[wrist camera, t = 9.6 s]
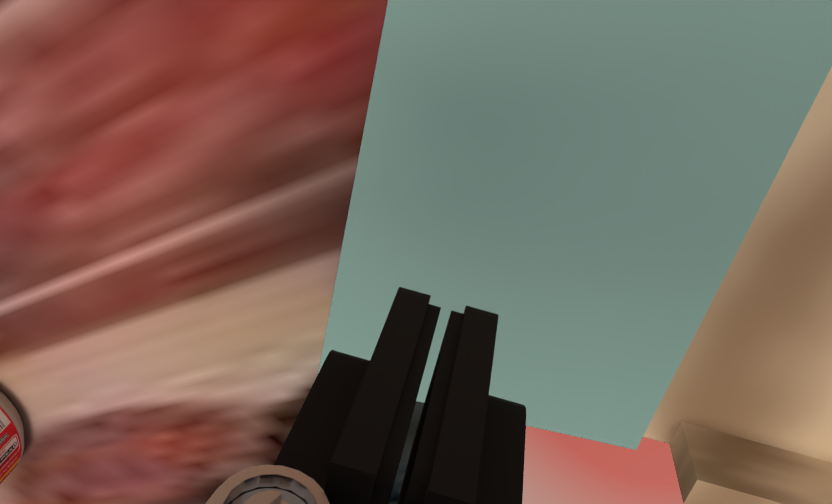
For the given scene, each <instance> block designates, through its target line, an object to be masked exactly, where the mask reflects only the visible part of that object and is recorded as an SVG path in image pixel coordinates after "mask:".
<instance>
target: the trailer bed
mask: <svg viewBox="0 0 832 504" xmlns="http://www.w3.org/2000/svg"><path fill="white" fill-rule="evenodd" d="M643 437H647V438H650V439H654V440H657V441H661V442H664V443H668V444H670V448H671V452H672V456H673V461H674V465H675V469H676V474H677V478H678V482H679V486H680V490H681V495H682V499H683V503H684V504H832V67H831V69H830V71H829V73H828V75H827V77H826V79H825V81H824V83H823V85H822V87H821V89H820V91H819V93H818V95H817V96H816V98H815V100H814V102H813V104H812V106H811V108H810V110H809V112H808V114H807V116H806V118H805V120H804V122H803V124H802V126H801V128H800V130H799V132H798V134H797V136H796V138H795V140H794V142H793V144H792V145H791V147H790V149H789V151H788V153H787V155H786V157H785V159H784V161H783V163H782V165H781V167H780V169H779V171H778V173H777V175H776V177H775V179H774V181H773V183H772V185H771V187H770V189H769V191H768V193H767V194H766V196H765V198H764V200H763V202H762V204H761V206H760V208H759V210H758V212H757V214H756V216H755V218H754V220H753V222H752V224H751V226H750V228H749V230H748V232H747V234H746V236H745V238H744V240H743V242H742V243H741V245H740V247H739V249H738V251H737V253H736V255H735V257H734V259H733V261H732V263H731V265H730V267H729V269H728V271H727V273H726V275H725V277H724V279H723V281H722V283H721V285H720V287H719V289H718V291H717V292H716V294H715V296H714V298H713V300H712V302H711V304H710V306H709V308H708V310H707V312H706V314H705V316H704V318H703V320H702V322H701V324H700V326H699V328H698V330H697V332H696V334H695V336H694V338H693V340H692V341H691V343H690V345H689V347H688V349H687V351H686V353H685V355H684V357H683V359H682V361H681V363H680V365H679V367H678V369H677V371H676V373H675V375H674V377H673V379H672V381H671V383H670V385H669V387H668V389H667V390H666V392H665V394H664V396H663V398H662V400H661V402H660V404H659V406H658V408H657V410H656V412H655V414H654V416H653V418H652V420H651V422H650V424H649V426H648V428H647V430H646V432H645V434H644V436H643Z"/></svg>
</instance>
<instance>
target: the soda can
mask: <svg viewBox="0 0 832 504" xmlns="http://www.w3.org/2000/svg"><path fill="white" fill-rule="evenodd" d="M23 451H24V429H23V424H22V420H21V418H20V415H19V413H18V412H17V410H16V408H15V407H14V405H13V404H12V403H11V402H10V400H9V399H8V398H7V397H6V396H5V395H4V394H3V393H2V392H1V391H0V484H1V483H2V481H3V480H4V479H5V478H6V477H7V476H8V475H9V474H10V472H11V471H12V470H13V469H14V468H15V467H16V465H17V464H18V463H19V461H20V459H21V457H22V455H23Z"/></svg>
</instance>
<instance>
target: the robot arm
mask: <svg viewBox="0 0 832 504" xmlns="http://www.w3.org/2000/svg"><path fill="white" fill-rule="evenodd" d="M430 297H431V295H428V294H424V293H420V292H417V291H413V290H410V289H406V288H403V287H399V288H398V291H397V293H396V296H395V298H394V301H393V303H392V306H391V309H390V311H389V314H388V316H387V319H386V321H385V324H384V326H383V329H382V332H381V334H380V337H379V339H378V342H377V344H376V347H375V349H374V352H373V355H372V357H371V360H370V361H369V360H366V359H362V358H359V357H355V356H352V355H348V354H345V353H342V352H338V351H335V350H331V351H330V352H329V354H328V356H327V357H326V359H325V361H324V363H323V365H322V367H321V369H320V372H319V374H318V376H317V378H316V380H315V382H314V384H313V386H312V388H311V390H310V392H309V394H308V396H307V398H306V400H305V402H304V404H303V406H302V408H301V410H300V412H299V414H298V416H297V419H296V421H295V423H294V425H293V427H292V429H291V431H290V433H289V435H288V437H287V439H286V441H285V443H284V445H283V447H282V449H281V451H280V453H279V455H278V457H277V459H276V461H275V464H274V465H261V466H256V467H251V468H247V469H244V470H242V471H240V472H238V473H236V474H234V475H232V476H230V477H229V478H228V479H227V480H226V481H225V482H224V483H223V484H222V485H221V486H220V487H218V489H217V490H216V491H215V492H214V494H213V495H212V496H211V497H210V499H209V500H208V501H207V502H206V504H388V502H389V499H390V495H391V492H392V488H393V485H394V481H395V477H396V474H397V470H398V466H399V463H400V459H401V455H402V451H403V448H404V444H405V440H406V437H407V433H408V429H409V425H410V422H411V418H412V414H413V411H414V407H415V403H416V399H417V396H418V392H419V388H420V384H421V381H422V377H423V373H424V370H425V366H426V362H427V358H428V355H429V351H430V347H431V344H432V340H433V336H434V332H435V329H436V325H437V321H438V317H439V314H440V310H441V307H438V306H434V305H431V304H429V301H430ZM497 325H498V314H495V313H491V312H488V311H484V310H481V309H477V308H474V307H470V306H467V305H466V307H465V310H464V313H459V312H456V311H452V310H451V313H450V317H449V320H448V323H447V327H446V330H445V334H444V337H443V341H442V344H441V347H440V351H439V354H438V358H437V361H436V365H435V368H434V371H433V375H432V378H431V382H430V385H429V389H428V392H427V395H426V399H425V402H424V406H423V409H422V413H421V416H420V420H419V423H418V426H417V430H416V433H415V437H414V441H413V444H412V448H411V452H410V456H409V460H408V464H407V468H406V472H405V475H404V479H403V483H402V487H401V491H400V495H399V499H398V503H397V504H522V492H523V471H524V450H525V430H526V407H525V405H522V404H519V403H515V402H512V401H508V400H505V399H501V398H498V397H494V396H491V395H489V388H490V381H491V373H492V365H493V357H494V349H495V341H496V333H497Z"/></svg>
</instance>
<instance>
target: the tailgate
mask: <svg viewBox="0 0 832 504" xmlns="http://www.w3.org/2000/svg"><path fill="white" fill-rule="evenodd" d="M831 67H832V0H388V4H387V9H386V14H385V20H384V25H383V30H382V36H381V41H380V46H379V52H378V57H377V62H376V68H375V73H374V78H373V84H372V89H371V94H370V100H369V105H368V110H367V116H366V121H365V126H364V132H363V137H362V142H361V148H360V153H359V158H358V164H357V169H356V174H355V180H354V185H353V190H352V196H351V201H350V207H349V212H348V217H347V223H346V228H345V233H344V239H343V244H342V249H341V255H340V260H339V265H338V271H337V276H336V281H335V287H334V292H333V297H332V303H331V308H330V313H329V319H328V324H327V329H326V335H325V340H324V345H323V351H322V356H321V361H320V367H319V372H320V369H321V367H322V365H323V363H324V361H325V359H326V357H327V356H328V354H329V352H330V351H331V350H335V351H338V352H342V353H345V354H348V355H352V356H355V357H359V358H362V359H366V360H369V361H370V360H371V357H372V355H373V352H374V349H375V347H376V344H377V342H378V339H379V337H380V334H381V332H382V329H383V326H384V324H385V321H386V319H387V316H388V314H389V311H390V309H391V306H392V303H393V301H394V298H395V296H396V293H397V291H398V288H399V287H403V288H406V289H410V290H413V291H417V292H420V293H424V294H428V295H431V297H430V301H429V304H431V305H434V306H438V307H441V310H440V314H439V317H438V321H437V325H436V329H435V332H434V336H433V340H432V344H431V347H430V351H429V355H428V358H427V362H426V366H425V370H424V373H423V377H422V381H421V384H420V388H419V392H418V396H417V399H416V401H419V402H423V403H424V402H425V399H426V395H427V392H428V389H429V385H430V382H431V378H432V375H433V371H434V368H435V365H436V361H437V358H438V354H439V351H440V347H441V344H442V341H443V337H444V334H445V330H446V327H447V323H448V320H449V317H450V313H451V310H452V311H456V312H459V313H464V310H465V307H466V305H467V306H470V307H474V308H477V309H481V310H484V311H488V312H491V313H495V314H498V325H497V333H496V341H495V349H494V357H493V365H492V373H491V381H490V388H489V395H491V396H494V397H498V398H501V399H505V400H508V401H512V402H515V403H519V404H522V405H525V407H526V425H527V426H531V427H536V428H540V429H545V430H549V431H554V432H558V433H563V434H567V435H572V436H576V437H580V438H585V439H589V440H594V441H599V442H603V443H607V444H612V445H617V446H621V447H625V448H630V449H635V450H636V449H637V447H638V445H639V443H640V441H641V439H642V437H643V436H644V434H645V432H646V430H647V428H648V426H649V424H650V422H651V420H652V418H653V416H654V414H655V412H656V410H657V408H658V406H659V404H660V402H661V400H662V398H663V396H664V394H665V392H666V390H667V389H668V387H669V385H670V383H671V381H672V379H673V377H674V375H675V373H676V371H677V369H678V367H679V365H680V363H681V361H682V359H683V357H684V355H685V353H686V351H687V349H688V347H689V345H690V343H691V341H692V340H693V338H694V336H695V334H696V332H697V330H698V328H699V326H700V324H701V322H702V320H703V318H704V316H705V314H706V312H707V310H708V308H709V306H710V304H711V302H712V300H713V298H714V296H715V294H716V292H717V291H718V289H719V287H720V285H721V283H722V281H723V279H724V277H725V275H726V273H727V271H728V269H729V267H730V265H731V263H732V261H733V259H734V257H735V255H736V253H737V251H738V249H739V247H740V245H741V243H742V242H743V240H744V238H745V236H746V234H747V232H748V230H749V228H750V226H751V224H752V222H753V220H754V218H755V216H756V214H757V212H758V210H759V208H760V206H761V204H762V202H763V200H764V198H765V196H766V194H767V193H768V191H769V189H770V187H771V185H772V183H773V181H774V179H775V177H776V175H777V173H778V171H779V169H780V167H781V165H782V163H783V161H784V159H785V157H786V155H787V153H788V151H789V149H790V147H791V145H792V144H793V142H794V140H795V138H796V136H797V134H798V132H799V130H800V128H801V126H802V124H803V122H804V120H805V118H806V116H807V114H808V112H809V110H810V108H811V106H812V104H813V102H814V100H815V98H816V96H817V95H818V93H819V91H820V89H821V87H822V85H823V83H824V81H825V79H826V77H827V75H828V73H829V71H830V69H831ZM319 372H318V374H319Z"/></svg>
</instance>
